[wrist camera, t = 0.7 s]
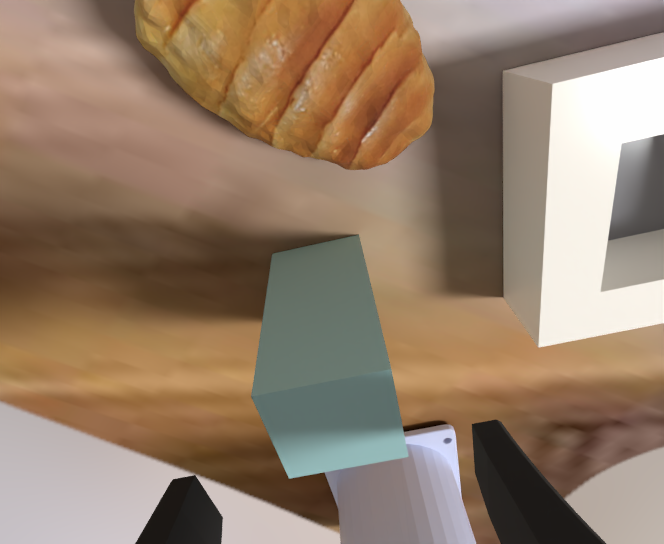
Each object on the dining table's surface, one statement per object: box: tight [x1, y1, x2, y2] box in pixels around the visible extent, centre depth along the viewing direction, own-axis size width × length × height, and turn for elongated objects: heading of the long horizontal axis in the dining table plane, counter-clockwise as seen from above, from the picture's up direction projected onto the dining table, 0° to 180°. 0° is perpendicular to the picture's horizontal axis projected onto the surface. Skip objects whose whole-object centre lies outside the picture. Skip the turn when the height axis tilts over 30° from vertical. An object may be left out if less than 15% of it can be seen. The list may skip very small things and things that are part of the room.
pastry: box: [134, 0, 435, 170], centre depth 13 cm, size 9×7×4 cm
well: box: [503, 32, 664, 347], centre depth 15 cm, size 10×10×4 cm
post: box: [251, 235, 409, 479], centre depth 15 cm, size 4×4×8 cm
